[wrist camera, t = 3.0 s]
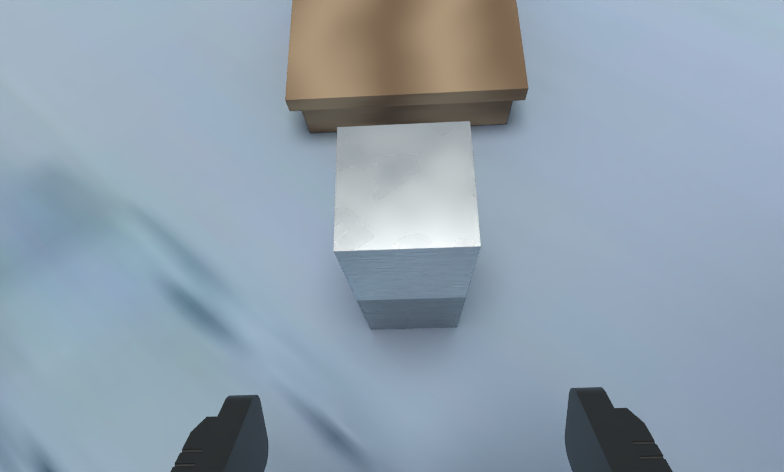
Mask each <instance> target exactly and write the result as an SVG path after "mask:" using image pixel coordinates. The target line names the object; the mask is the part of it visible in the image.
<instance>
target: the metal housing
mask: <svg viewBox="0 0 784 472" xmlns="http://www.w3.org/2000/svg"><path fill="white" fill-rule="evenodd" d="M480 247H481V244H480V232H479V221H478V209H477V197H476V185H475V174H474V162H473V150H472V138H471V127H470V121H461V122H439V123H418V124H396V125H374V126H352V127H337V153H336V189H335V225H334V253H335V255H336V257H337V259H338V261H339V263H340V266H341V268H342V270H343V272H344V274H345V276H346V278H347V280H348V282H349V285H350V287H351V289H352V291H353V293H354V295H355V297H356V299H357V301H358V304H359V306H360V308H361V310H362V312H363V314H364V316H365V318H366V320H367V323H368V325H369V327H370V329H405V328H441V327H457V325H458V322H459V318H460V315H461V311H462V308H463V305H464V301H465V298H466V294H467V291H468V288H469V284H470V281H471V277H472V274H473V271H474V267H475V264H476V260H477V257H478V254H479V250H480Z"/></svg>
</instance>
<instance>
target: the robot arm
mask: <svg viewBox="0 0 784 472" xmlns="http://www.w3.org/2000/svg"><path fill="white" fill-rule="evenodd" d="M565 445H566V452H567V456H568V460H569V463H570V466H571V468H572V471H573V472H672V470H671V468H670V467H669V465H668V463H667V461H666V460H665V459H663V455H662V453H661V451H660V449H659V448H658V446H657V444H655V442H654V439H653V437H652V436H651V434H650V432H649V430H648V429H647V427H646V425H645V424H644V422H642V421H641V420H640V419H639V418H638V417H637V416H635V415H634V414H633V413H632V412H631V411H630V410H628V409H627V408H614V407H613V405H612V403H611V401H610V399H609V397H608V396H607V394H606V392H605V390H604V389H603V388H601V387H592V388H571V389H570V392H569V400H568V410H567V419H566V429H565ZM267 458H268V438H267V432H266V427H265V422H264V417H263V412H262V407H261V402H260V398H259V396H258V395H237V396H228V397H227V398H226V400H225V402H224V404H223V406H222V408H221V410H220V412H219V414H218V417H206V418H205V419H204V420H203V421H202V422H201V423H200V424H199V425H198V426H197V427H196V428H195V429H194V430H193V431H192V432H191V433H190V435H189V437H188V439H187V441H186V443H185V445H184V447H183V449H182V453H180V454H179V456H178V458H177V460H176V462H175V467H173V468H172V470H171V472H264V470H265V467H266V463H267Z"/></svg>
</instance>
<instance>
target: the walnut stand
mask: <svg viewBox="0 0 784 472" xmlns="http://www.w3.org/2000/svg"><path fill="white" fill-rule="evenodd" d="M527 91H528V82H527V75H526V68H525V61H524V54H523V46H522V39H521V32H520V25H519V17H518V10H517V3H516V0H293V2H292V15H291V29H290V43H289V56H288V70H287V83H286V97H285V101H286V103H287V106H288V108H289V111H302V113H303V115H304V118H305V121H306V123H307V126H308V129H309V132H310V133H318V132H337V127H352V126H374V125H396V124H418V123H439V122H461V121H470V126H472V125H494V124H507V120H508V116H509V113H510V109H511V105H512V101H513V100H525V98H526V94H527Z"/></svg>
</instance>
